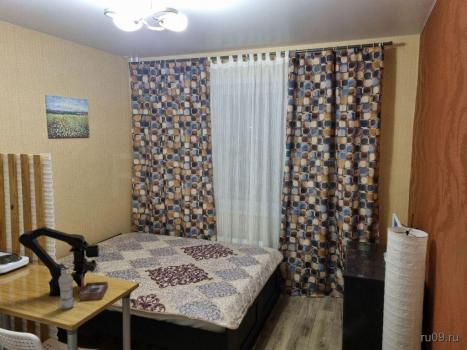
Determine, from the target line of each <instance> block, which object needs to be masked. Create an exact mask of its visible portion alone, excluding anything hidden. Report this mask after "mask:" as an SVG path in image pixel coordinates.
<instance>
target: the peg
mask: <svg viewBox="0 0 467 350" xmlns="http://www.w3.org/2000/svg"><path fill="white" fill-rule="evenodd" d="M84 286H85V277H83V278H82V283H81V287H78V286H77V291H78V293H80V292H81V291H82V289H83V288H84Z"/></svg>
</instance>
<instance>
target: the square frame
mask: <svg viewBox="0 0 467 350" xmlns="http://www.w3.org/2000/svg"><path fill="white" fill-rule="evenodd" d="M108 284H109V283H108V281H94V282H93V281H92V282H86V284H84V288H83V289H82V291H81V292H79V301H95V300H96V301H97V300H103V299H104V296H105V294H106V293H107V291H108V288H109V287H108V286H109V285H108Z"/></svg>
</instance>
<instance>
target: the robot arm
mask: <svg viewBox="0 0 467 350" xmlns="http://www.w3.org/2000/svg"><path fill="white" fill-rule="evenodd" d="M42 236H44V237H47V238H51V239H54V240H57V241H61V242H63V243H66V244H67V245H68V246H70V247H71V248H70V249H68V252H69V253H71V252H72V254H73V261H72V264H73V268H72V272H71V273H70V274H71V275H72V277H73V282H75V284H76V285H77V288H78V287H81V283H82V278H83V277H84V278H85V276H86V274H87V273H88V271H89V272H92V273H93V272H95V270H96V268H97V265H98V264H97V261H96V260H95V259H92V258H100V247H99V244H93V245H92V244H89V243H88V242H87V241H86V238H85V237H84V235H82V234H76V233H74V234H73V233H67V232H63V231H59V230H56V229H53V228H50V227H48V226H43V225H42V226H41V227H39V228H36V229H34V230H27V231H25V232H23V233H22V234H21V235H19V237H18V243H19V244H20V245H22V246H23V247H24V248H27V249H29V250H31V252H32V253H34V255H35V256H36V257H37V258H38V259H39V260H40V261H41V262H42V264H43V265H44V266H45V267H46V268H47V269H48V270H49V273H50V276H51V278H50V279H49V281H48V286H49V294H48V296H49V297H58V296H59V297H60V295H61V293H60V286H59V278H60V276H61V275H62V274H61V269H63V268H67V266H65V265H64V263H63V262H61V263H57V262H56V260H55V259H54V258H52V256H50V255H49V253H48V252H47V251H46V250H45V248H43V246H41V244H40V243H39V241H38V238H39V237H42ZM87 258H88V259H90V258H91V259H92V260H91V261H88V260H87Z"/></svg>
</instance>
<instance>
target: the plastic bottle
mask: <svg viewBox="0 0 467 350" xmlns="http://www.w3.org/2000/svg"><path fill="white" fill-rule="evenodd" d="M61 274H62V275H61V276H60V278H59V286H60V293H61V295H60V296H59V297H60V299H59V307H60V308H61V309H63V310H68V309H71V308H73V307H74V305H75V298H74V292H73V284H74V280H73V277H72V275H71V273H70V267H66V268H63V269H61Z"/></svg>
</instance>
